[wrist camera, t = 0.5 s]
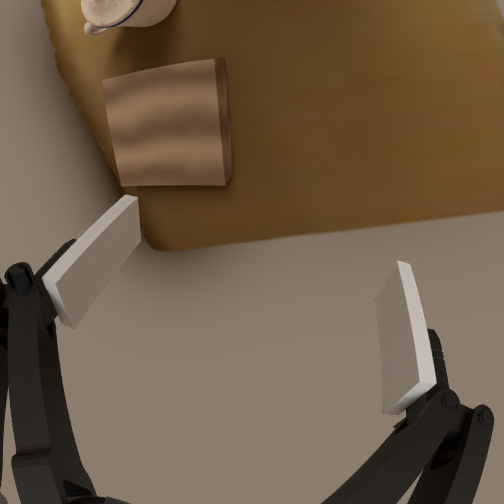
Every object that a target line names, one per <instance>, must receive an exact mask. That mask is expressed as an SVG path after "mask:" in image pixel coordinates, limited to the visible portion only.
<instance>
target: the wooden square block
mask: <svg viewBox="0 0 504 504" xmlns="http://www.w3.org/2000/svg"><path fill="white" fill-rule="evenodd" d="M102 86H103V93H104V100H105V106H106V112H107V118H108V123H109V129H110V134H111V139H112V144H113V149H114V154H115V159H116V163H117V168H118V172H119V176H120V181H121V185H122V186H149V185H222V186H226V184H227V183H228V181H229V180H230V179H231V177H232V176H233V174H234V172H233V160H232V148H231V135H230V123H229V110H228V97H227V84H226V71H225V59H207V60H199V61H192V62H185V63H179V64H173V65H167V66H162V67H156V68H151V69H147V70H142V71H137V72H133V73H129V74H125V75H121V76H117V77H113V78H109V79H106V80H102Z"/></svg>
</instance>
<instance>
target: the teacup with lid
mask: <svg viewBox="0 0 504 504" xmlns="http://www.w3.org/2000/svg"><path fill="white" fill-rule="evenodd" d="M176 1H177V0H81V7H82V12H83V15H84V16H85V18H86V19H87V21H88V22H87V23H86V25H85V27H84V32H85V34H86V35H88V36H94V35H98V34H101V33H103V32H105V31H107V30H108V29H110V28H111V27H114V26H127V27H149V26H153V25H155V24H157V23H159V22H161V21H162V20H163V19H165V18H166V17H167V16H168V15H169V14H170V13H171V11H172V10H173V8H174V6H175V4H176ZM94 26H96V27H95V28H93V27H94Z"/></svg>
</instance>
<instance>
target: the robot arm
mask: <svg viewBox="0 0 504 504" xmlns="http://www.w3.org/2000/svg"><path fill="white" fill-rule="evenodd" d="M140 241H141V234H140V222H139V208H138V197H134V196H130V195H124V196H123V197H122V198H121V199H120V200H119V201H118V202H117V203H116V204H114V205H113V206H112V207H111V208H110V209H109V210H108V211H107V212H106V213H105V214H104V215H103V216H101V217H100V218H99V219H98V220H97V221H96V222H95V223H94V224H93V225H92V226H91V227H90V228H89V229H88V230H87V231H86V232H85V233H84V234H83V235H82V236H81V237H80V238H79V239H78V240H76V239H72V240H70V241H69V242H67V243H65V244H64V245H63V246H62V247H61V248H60V249H59V250H58V251H57V252H56V253H55V254H54V255H53V256H52V258H50V259H49V260H48V261H47V262H46V263H45V264H44V265H43V266H42V267H41V269H40V270H39V271H38V272H37V273H36V274H35V275H34V274H33V272H32V269H31V267H30V265H29V264H28V263H25V262H19V263H16V264H14V265H12V266H11V267H9V268H8V270H7V271H6V272H5V275H4V277H5V279H6V282H7V284H3V282H2V280H1V279H0V487H1V480H2V467H3V434H4V420H5V410H6V401H7V392H8V386H9V397H10V408H11V417H12V425H13V432H14V438H15V444H16V454H15V455H14V456H13V457H12V461H11V464H12V470H13V475H14V479H15V483H16V487H17V491H18V494H19V498H20V501H21V504H130V503H128V502H125V501H121V500H117V499H114V498H111V497H107V498H106V497H98V496H97V494H96V492H95V489H94V486H93V484H92V481H91V479H90V477H89V475H88V474H87V473H86V471H85V469H84V468H83V465H82V463H81V460H80V456H79V453H78V449H77V446H76V442H75V439H74V434H73V431H72V427H71V422H70V418H69V414H68V409H67V404H66V399H65V393H64V388H63V382H62V376H61V369H60V362H59V354H58V345H57V335H56V325H55V321H54V319H55V318H56V316H57V315H58V316H59V318H60V321H61V323H62V324H64V325H66V326H68V327H70V328H73V329H75V328H76V326H77V325H78V323H79V322H80V321H81V319H82V318H83V316H84V315H85V313H86V312H87V311H88V309H89V308H90V306H91V305H92V304H93V302H94V301H95V300H96V298H97V297H98V295H99V294H100V292H101V291H102V290H103V289H104V287H105V286H106V285H107V283H108V282H109V280H110V279H111V278H112V277H113V275H114V274H115V273H116V272H117V270H118V269H119V268H120V266H121V265H122V264H123V263H124V261H125V260H126V259H127V257H128V256H129V255H130V254H131V252H132V251H133V250H134V249H135V247H136V246H137V245H138V244H139V243H140ZM375 300H376V309H377V320H378V330H379V343H380V356H381V376H382V414H389V415H399V414H400V413H402V412H403V411H404V410H406V417H405V418H404V419H403V420H402V421H400V422H399V423H397V424H396V425H395V426H393V427H394V428H395V430H394V431H393V432H392V433H391V434H390V436H389V437H388V438H387V439H386V440H385V441H384V443H383V444H382V445H381V446H380V447H379V448H378V449H377V450H376V452H375V453H374V454H373V455H372V456H371V457H370V458H369V459H368V460H367V461H366V462H365V463H364V464H363V465H362V466H361V467H360V468H359V469H358V470H357V471H356V472H355V473H354V474H353V475H352V476H351V477H350V478H349V479H348V480H347V481H346V482H345V483H344V484H343V485H342V486H341V487H340V488H338V489H337V490H336V491H335V492H334V493H333V494H332V495H331V496H329V497H328V498H327V499H326V500H325V501H324V502H323V503H321V504H396V503H397V502H398V501H399V500H400V499H401V497H402V496H403V495H404V493H406V491H407V490H408V489H409V487H410V486H411V485H412V484H413V482H414V481H415V480H416V478H417V477H418V476H419V474H420V473H421V472H422V470H423V472H422V474H421V476H420V478H419V480H418V482H417V485H416V487H415V489H414V491H413V493H412V495H411V497H410V499H409V501H408V503H407V504H472V502H473V500H474V497H475V494H476V491H477V488H478V485H479V482H480V479H481V475H482V472H483V468H484V465H485V461H486V457H487V453H488V449H489V445H490V441H491V436H492V431H493V426H494V417H493V413H492V411H491V410H490V408H489V407H487V406H486V405H483V404H482V405H478V406H477V407H476V408H474V409H471V408H468V407H466V406H464V405H462V404H460V400H459V398H458V396H457V395H456V393H455V392H454V391H452V390H451V389H449V384H448V378H447V373H446V367H445V362H444V360H443V358H444V357H443V352H442V347H441V344H440V339H439V337H438V336H437V334H436V332H435V331H434V330H432V329H427V328H426V323H425V319H424V314H423V310H422V306H421V302H420V298H419V294H418V290H417V287H416V283H415V279H414V276H413V272H412V269H411V266H410V264H408V263H404V262H401V261H396V263H395V265H394V267H393V269H392V271H391V272H390V274H389V276H388V278H387V280H386V282H385V284H384V285H383V287H382V289H381V290H380V292H379V294H378V296H377V297H376V299H375ZM0 504H8V503H7V500H6V498H5V497H4V496H3V495H2V494H1V492H0Z"/></svg>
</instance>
